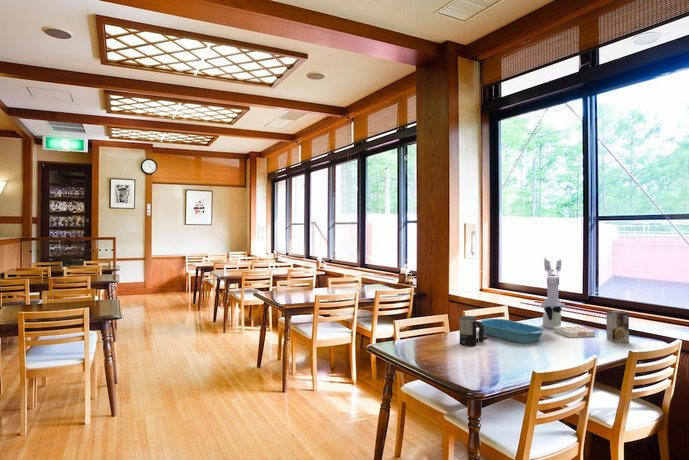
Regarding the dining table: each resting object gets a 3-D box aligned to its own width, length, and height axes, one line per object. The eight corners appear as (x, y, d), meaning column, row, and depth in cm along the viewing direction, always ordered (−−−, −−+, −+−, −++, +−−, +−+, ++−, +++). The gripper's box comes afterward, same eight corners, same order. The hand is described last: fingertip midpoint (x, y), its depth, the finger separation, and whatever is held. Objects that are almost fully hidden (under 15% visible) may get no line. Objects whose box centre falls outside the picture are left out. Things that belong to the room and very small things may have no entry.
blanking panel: (545, 321, 258) (545, 310, 258) (550, 321, 259) (550, 310, 258) (556, 325, 248) (556, 313, 248) (560, 325, 249) (560, 313, 249)
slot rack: (553, 331, 260) (553, 326, 260) (578, 330, 263) (578, 325, 263) (569, 337, 247) (569, 332, 246) (595, 336, 249) (595, 331, 249)
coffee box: (622, 339, 243) (623, 310, 243) (629, 342, 237) (629, 313, 236) (605, 338, 244) (606, 310, 244) (611, 341, 238) (611, 312, 237)
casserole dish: (551, 341, 240) (551, 328, 240) (527, 347, 228) (527, 334, 228) (495, 328, 271) (495, 316, 271) (472, 333, 259) (472, 321, 259)
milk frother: (456, 345, 232) (456, 318, 232) (463, 338, 246) (463, 312, 245) (484, 349, 225) (484, 320, 225) (489, 341, 239) (489, 315, 239)
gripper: (545, 298, 248) (545, 321, 248) (568, 297, 250) (568, 320, 251) (538, 296, 255) (538, 318, 255) (560, 295, 257) (560, 317, 258)
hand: (552, 319), depth 254 cm, fingers closed on blanking panel, 3 cm apart
